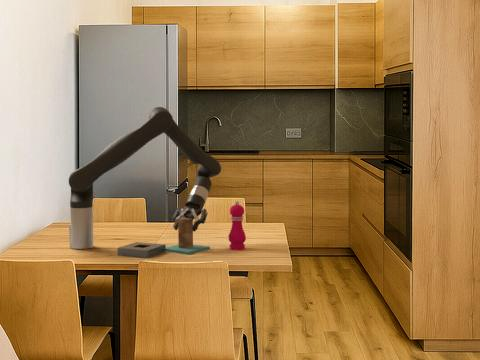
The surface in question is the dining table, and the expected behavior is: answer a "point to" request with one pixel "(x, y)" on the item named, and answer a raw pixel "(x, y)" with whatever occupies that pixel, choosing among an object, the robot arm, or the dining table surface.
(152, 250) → the socket block
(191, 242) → the walnut peg
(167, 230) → the dining table surface
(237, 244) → the pepper mill
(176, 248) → the teal mat
